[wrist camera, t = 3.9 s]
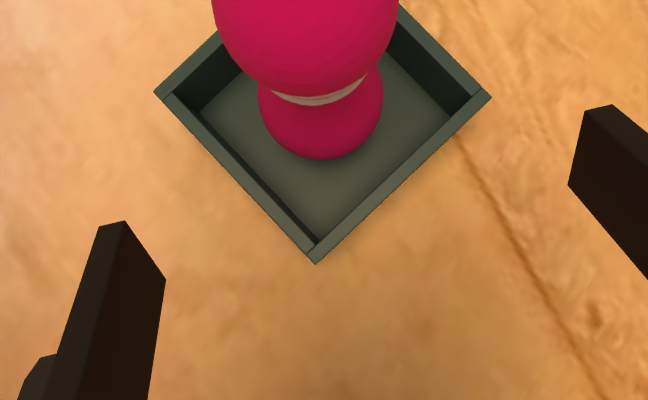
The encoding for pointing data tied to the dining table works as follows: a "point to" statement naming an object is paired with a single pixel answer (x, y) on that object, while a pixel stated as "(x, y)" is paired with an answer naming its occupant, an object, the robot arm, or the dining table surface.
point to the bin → (337, 174)
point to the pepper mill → (312, 67)
